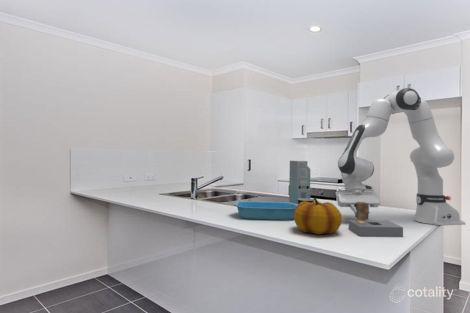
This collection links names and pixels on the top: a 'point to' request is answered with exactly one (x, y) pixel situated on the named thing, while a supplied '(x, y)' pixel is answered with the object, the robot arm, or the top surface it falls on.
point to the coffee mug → (305, 200)
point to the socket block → (375, 228)
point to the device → (299, 181)
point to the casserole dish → (266, 210)
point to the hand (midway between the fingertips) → (362, 213)
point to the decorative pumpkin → (317, 217)
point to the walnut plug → (362, 210)
